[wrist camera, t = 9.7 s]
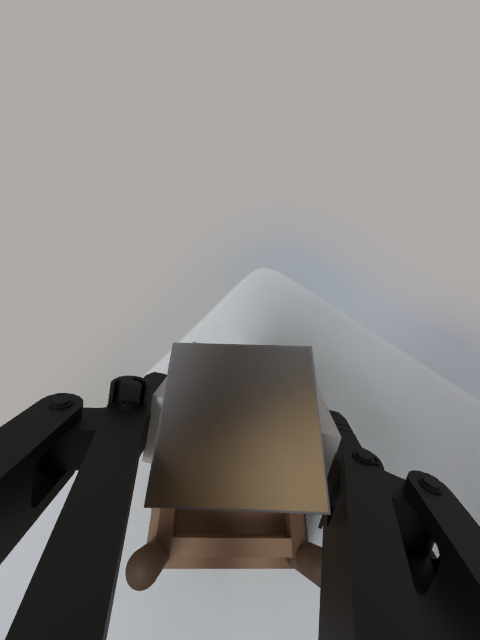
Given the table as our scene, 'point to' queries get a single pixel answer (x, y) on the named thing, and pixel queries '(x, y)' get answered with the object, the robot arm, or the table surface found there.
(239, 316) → the table surface
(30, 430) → the robot arm
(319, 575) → the brown square open box
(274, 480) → the block
